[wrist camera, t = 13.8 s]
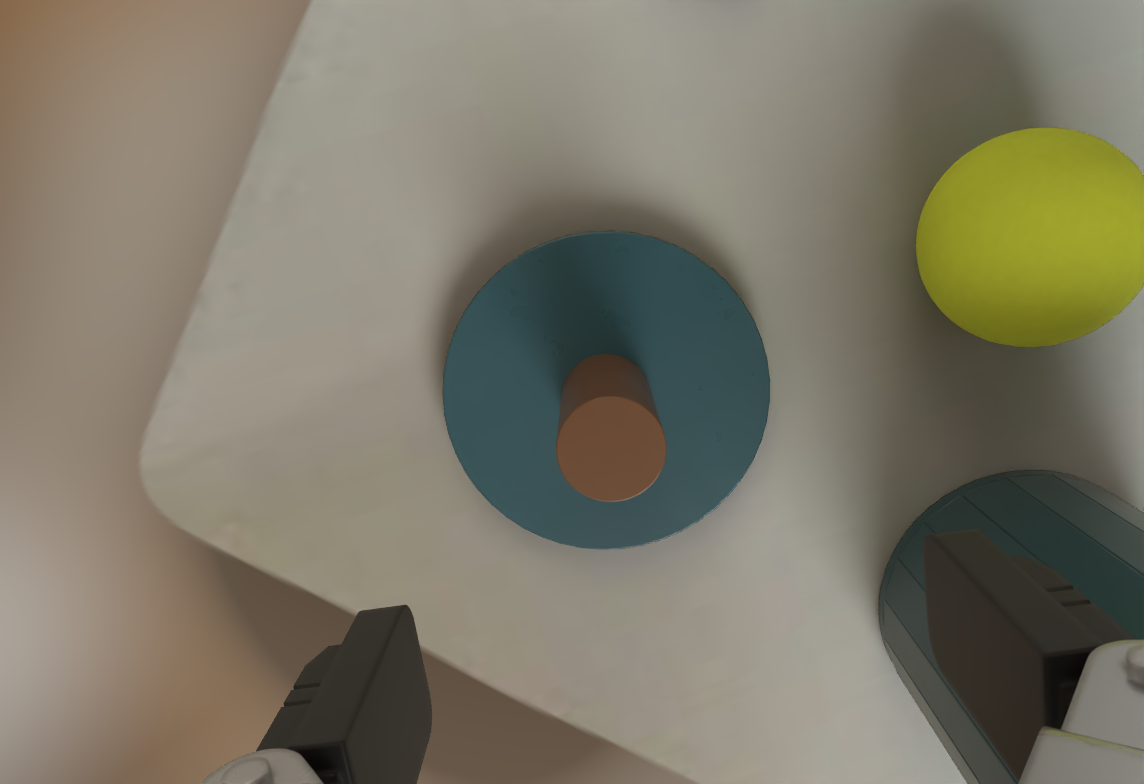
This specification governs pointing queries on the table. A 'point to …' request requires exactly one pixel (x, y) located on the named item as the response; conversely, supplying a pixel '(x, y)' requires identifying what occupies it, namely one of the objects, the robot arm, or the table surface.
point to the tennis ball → (1034, 237)
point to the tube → (1018, 527)
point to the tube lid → (606, 390)
